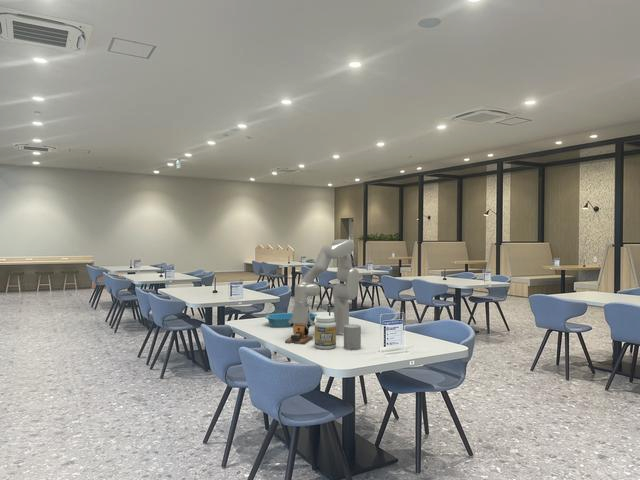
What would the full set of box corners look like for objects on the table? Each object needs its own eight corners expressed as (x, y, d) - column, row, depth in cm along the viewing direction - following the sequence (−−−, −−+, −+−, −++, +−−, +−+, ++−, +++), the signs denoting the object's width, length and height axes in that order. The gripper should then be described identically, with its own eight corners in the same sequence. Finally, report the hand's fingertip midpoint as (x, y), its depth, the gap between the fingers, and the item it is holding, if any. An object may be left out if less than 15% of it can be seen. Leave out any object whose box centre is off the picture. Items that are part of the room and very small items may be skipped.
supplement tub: (316, 350, 259) (316, 319, 259) (312, 345, 271) (312, 315, 271) (338, 349, 261) (338, 318, 261) (333, 344, 273) (333, 314, 273)
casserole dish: (267, 329, 318) (267, 318, 318) (262, 323, 340) (262, 313, 340) (320, 326, 327) (320, 316, 327) (312, 321, 349) (312, 311, 349)
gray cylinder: (355, 350, 257) (355, 328, 257) (340, 348, 262) (340, 326, 262) (363, 347, 266) (363, 325, 265) (348, 345, 271) (348, 323, 270)
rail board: (312, 338, 288) (312, 331, 288) (304, 344, 273) (304, 336, 272) (293, 337, 291) (293, 330, 291) (285, 343, 276) (285, 335, 276)
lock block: (308, 335, 288) (308, 323, 288) (303, 338, 280) (303, 326, 280) (298, 334, 290) (297, 323, 290) (293, 337, 282) (293, 325, 282)
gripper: (316, 304, 286) (316, 334, 286) (289, 303, 291) (289, 332, 291) (312, 306, 279) (312, 336, 279) (285, 305, 284) (285, 335, 284)
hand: (300, 334), depth 285 cm, fingers closed on lock block, 6 cm apart
